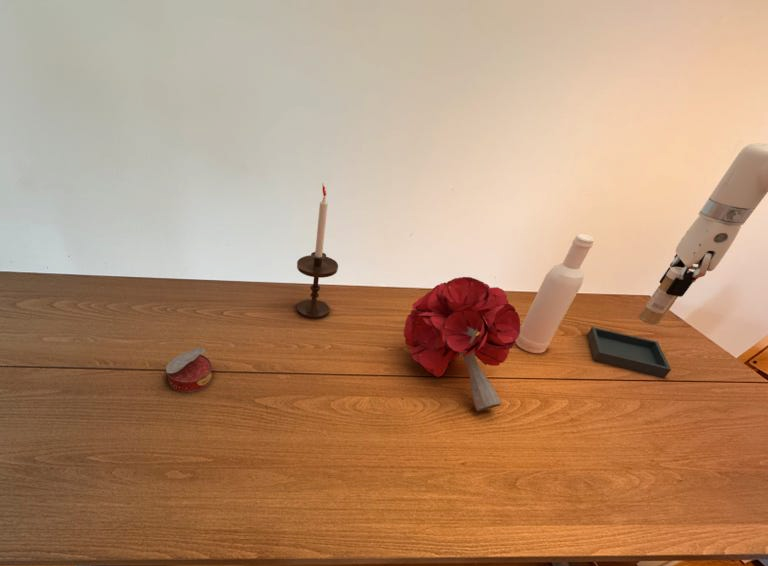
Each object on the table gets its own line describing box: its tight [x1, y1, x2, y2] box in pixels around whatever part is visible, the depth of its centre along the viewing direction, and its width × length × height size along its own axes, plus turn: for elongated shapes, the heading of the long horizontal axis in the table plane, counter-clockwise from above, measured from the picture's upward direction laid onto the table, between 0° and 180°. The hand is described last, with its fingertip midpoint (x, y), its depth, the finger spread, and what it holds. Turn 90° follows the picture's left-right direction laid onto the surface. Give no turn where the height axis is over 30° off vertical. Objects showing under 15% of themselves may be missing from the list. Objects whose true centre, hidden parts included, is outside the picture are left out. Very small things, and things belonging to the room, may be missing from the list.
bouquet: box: [403, 276, 521, 412], centre depth 94 cm, size 22×24×30 cm
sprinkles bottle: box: [637, 267, 692, 325], centre depth 99 cm, size 5×5×13 cm
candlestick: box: [296, 184, 339, 320], centre depth 109 cm, size 11×11×35 cm
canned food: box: [165, 347, 213, 393], centre depth 94 cm, size 11×10×10 cm
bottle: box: [515, 233, 595, 354], centre depth 102 cm, size 8×8×30 cm
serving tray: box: [586, 326, 672, 379], centre depth 109 cm, size 16×13×3 cm
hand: (670, 288), depth 98 cm, fingers closed on sprinkles bottle, 4 cm apart
